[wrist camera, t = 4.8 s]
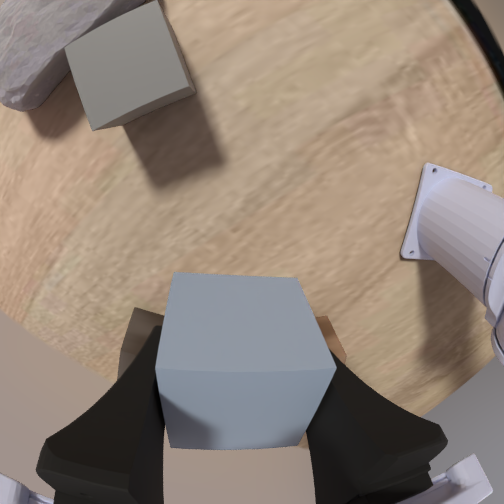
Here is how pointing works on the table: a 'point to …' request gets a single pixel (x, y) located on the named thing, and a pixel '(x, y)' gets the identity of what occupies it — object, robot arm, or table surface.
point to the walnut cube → (331, 338)
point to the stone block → (45, 43)
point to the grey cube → (129, 67)
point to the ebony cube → (137, 336)
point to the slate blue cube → (239, 362)
